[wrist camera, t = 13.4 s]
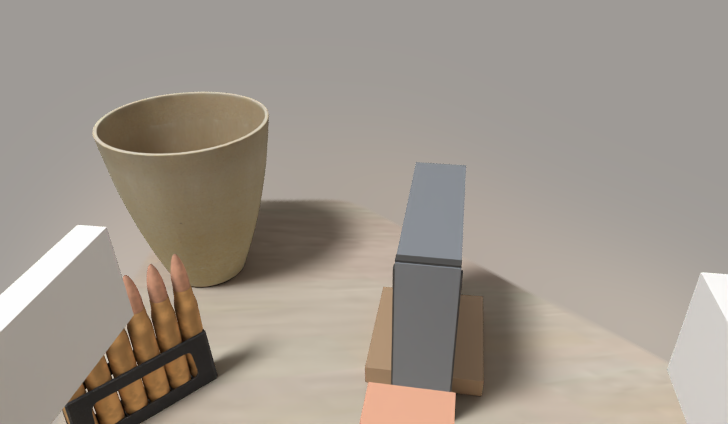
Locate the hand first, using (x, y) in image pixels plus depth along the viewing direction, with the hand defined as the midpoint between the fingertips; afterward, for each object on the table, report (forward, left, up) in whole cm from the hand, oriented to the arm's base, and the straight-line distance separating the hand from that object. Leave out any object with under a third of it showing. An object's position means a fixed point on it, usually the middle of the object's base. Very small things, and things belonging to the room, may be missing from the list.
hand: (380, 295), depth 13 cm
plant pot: (+36, +19, -27) cm, 49 cm away
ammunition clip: (+18, +18, -27) cm, 37 cm away
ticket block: (+25, -2, -26) cm, 36 cm away
